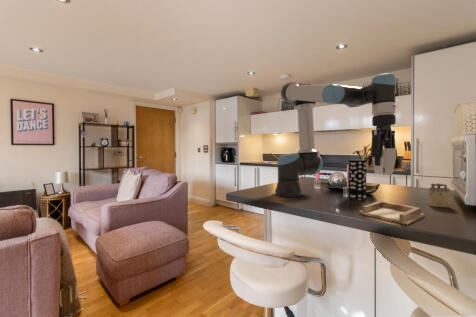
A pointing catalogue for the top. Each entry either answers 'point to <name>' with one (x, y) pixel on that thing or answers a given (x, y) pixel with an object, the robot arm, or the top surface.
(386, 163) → the cup
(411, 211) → the rest
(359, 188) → the spotted tube
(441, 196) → the olive box with handle
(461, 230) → the top surface
